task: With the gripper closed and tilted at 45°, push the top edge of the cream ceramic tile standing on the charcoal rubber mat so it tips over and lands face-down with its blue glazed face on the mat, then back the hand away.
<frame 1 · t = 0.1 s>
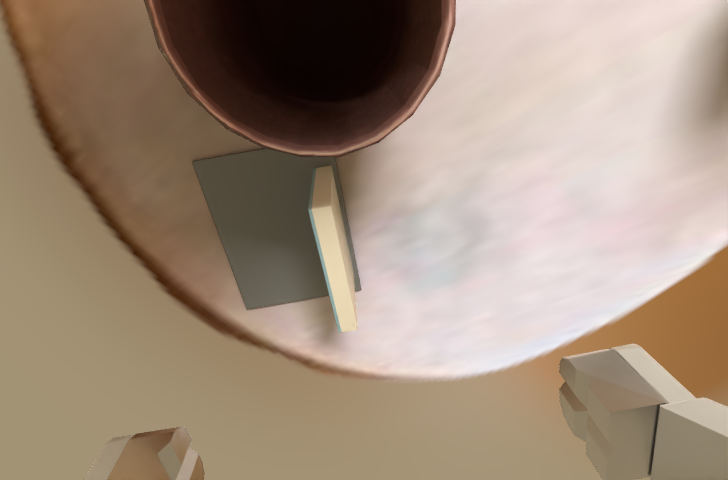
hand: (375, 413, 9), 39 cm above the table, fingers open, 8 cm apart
mat: (284, 230, 50), on the table
tile: (334, 223, 50), resting on mat
pottery: (315, 8, 40), on the table
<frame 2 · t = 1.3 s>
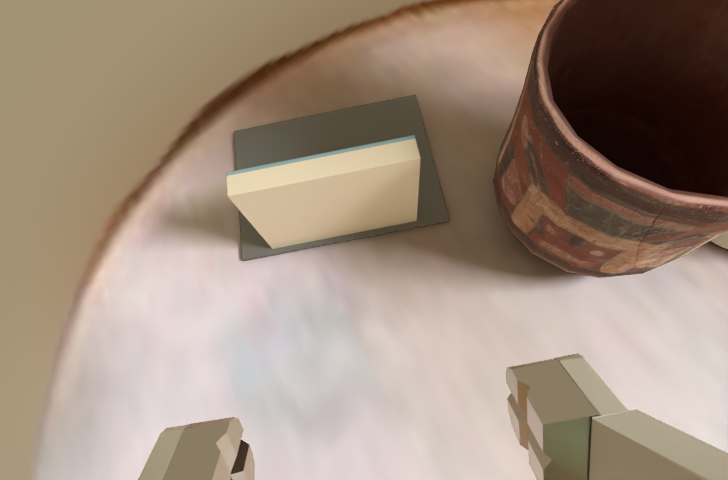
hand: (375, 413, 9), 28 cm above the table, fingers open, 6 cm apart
mat: (334, 174, 43), on the table
tile: (342, 225, 41), resting on mat
pottery: (576, 207, 40), on the table
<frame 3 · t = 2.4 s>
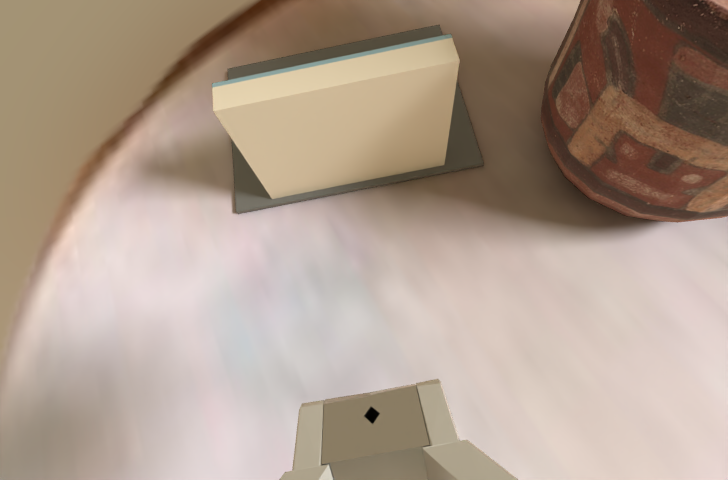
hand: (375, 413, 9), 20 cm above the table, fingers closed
mat: (345, 114, 37), on the table
tile: (355, 171, 34), resting on mat
pottery: (637, 147, 33), on the table
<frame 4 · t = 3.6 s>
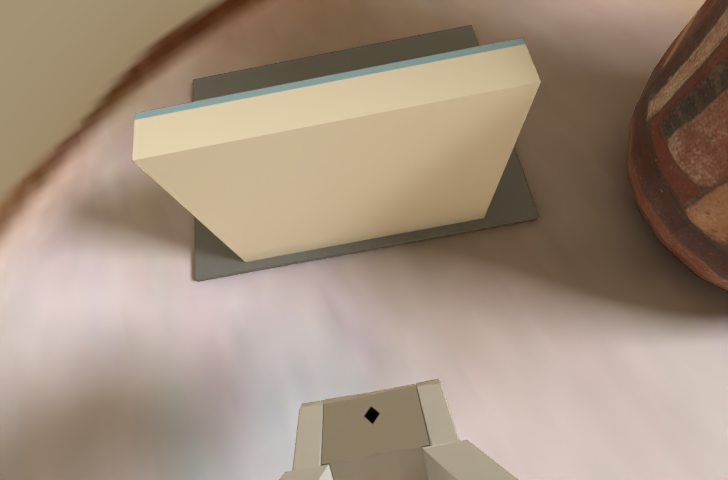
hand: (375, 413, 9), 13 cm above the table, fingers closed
mat: (347, 143, 27), on the table
tile: (361, 224, 25), resting on mat
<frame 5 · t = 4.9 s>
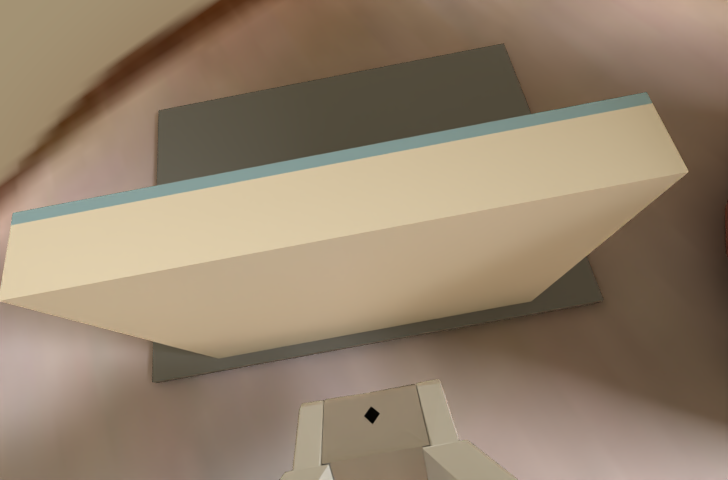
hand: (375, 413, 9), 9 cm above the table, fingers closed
mat: (350, 195, 22), on the table
tile: (369, 308, 19), resting on mat
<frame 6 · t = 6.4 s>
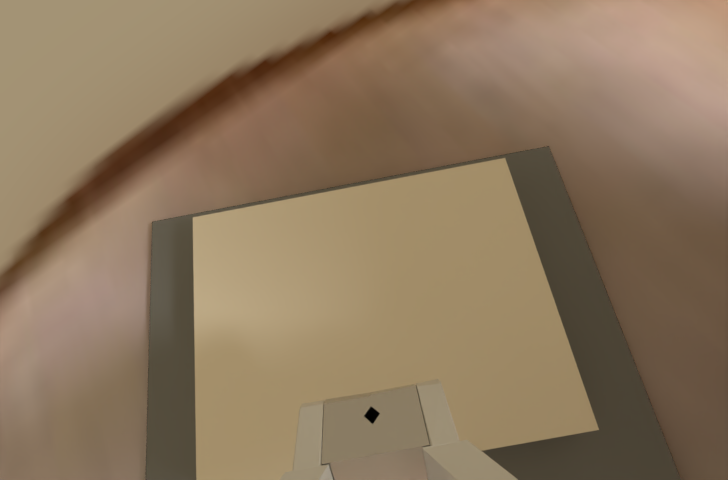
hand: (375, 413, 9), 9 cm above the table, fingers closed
mat: (375, 336, 19), on the table
tile: (396, 462, 15), point 1 cm above the table, tilted 90°, touching mat
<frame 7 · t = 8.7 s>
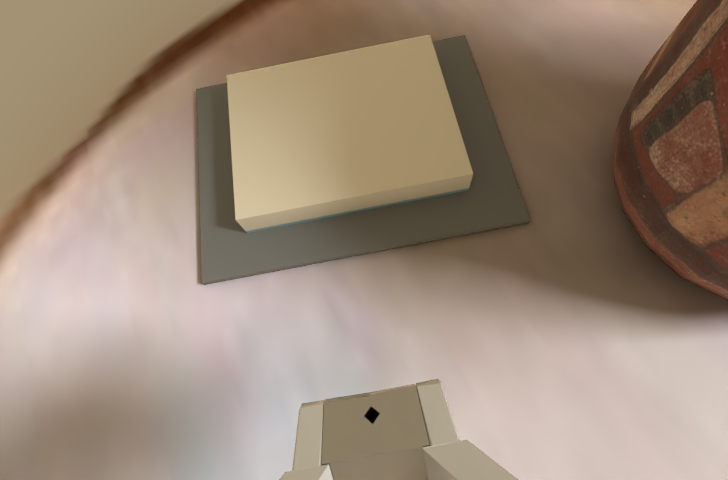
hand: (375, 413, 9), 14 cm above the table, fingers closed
mat: (346, 150, 28), on the table
tile: (355, 204, 25), point 1 cm above the table, tilted 90°, touching mat
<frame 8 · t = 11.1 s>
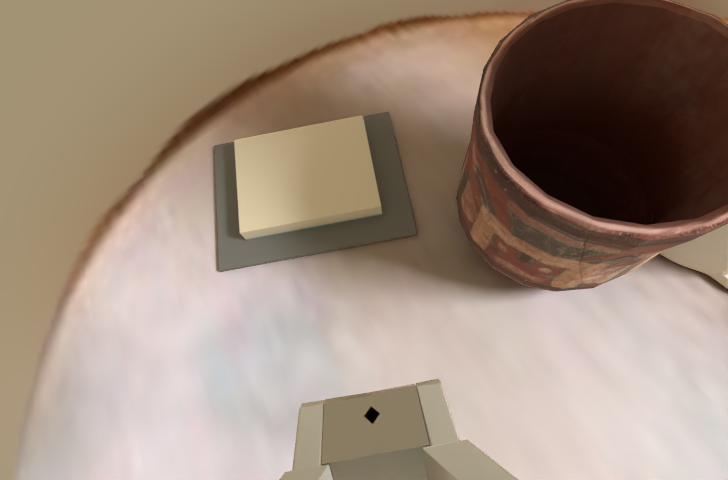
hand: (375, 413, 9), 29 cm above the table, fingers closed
mat: (309, 188, 45), on the table
tile: (312, 223, 42), point 1 cm above the table, tilted 90°, touching mat
pottery: (539, 222, 42), on the table
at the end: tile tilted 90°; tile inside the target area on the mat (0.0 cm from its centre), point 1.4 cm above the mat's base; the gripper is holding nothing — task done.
